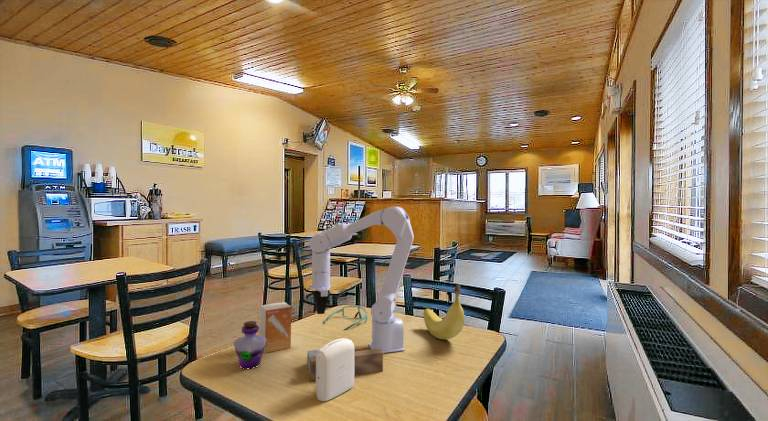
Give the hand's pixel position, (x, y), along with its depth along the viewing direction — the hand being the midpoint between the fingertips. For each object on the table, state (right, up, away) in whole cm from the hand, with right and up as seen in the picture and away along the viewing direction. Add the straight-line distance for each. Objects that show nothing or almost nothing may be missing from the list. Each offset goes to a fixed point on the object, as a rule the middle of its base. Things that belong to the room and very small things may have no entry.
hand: (320, 313), depth 121 cm
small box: (-13, -10, -4) cm, 17 cm away
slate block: (+3, -10, -18) cm, 21 cm away
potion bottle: (-17, -10, -17) cm, 26 cm away
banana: (+39, -10, +5) cm, 41 cm away
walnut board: (+10, -10, -21) cm, 26 cm away
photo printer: (+9, -11, -31) cm, 34 cm away
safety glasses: (+6, -10, +21) cm, 24 cm away
